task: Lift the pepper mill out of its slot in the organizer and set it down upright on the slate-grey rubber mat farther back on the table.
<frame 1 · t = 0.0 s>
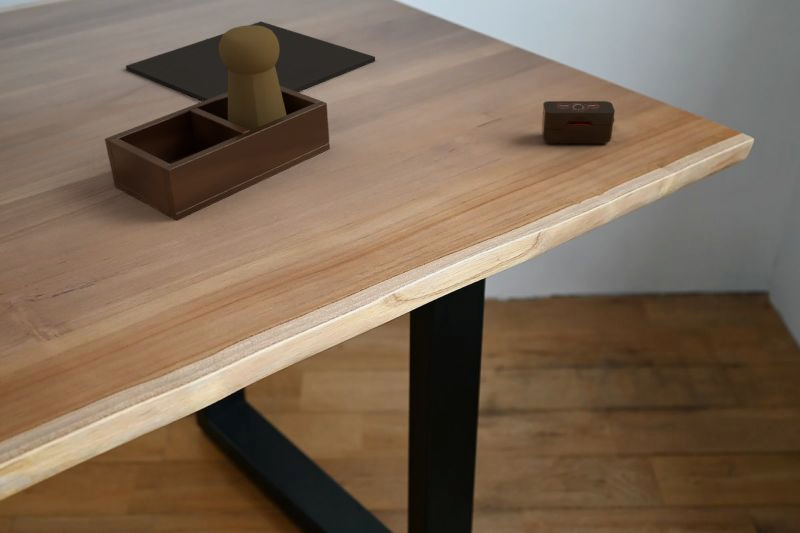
organizer: (226, 167, 82), on the table
mat: (251, 65, 103), on the table
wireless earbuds: (582, 137, 86), on the table
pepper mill: (260, 147, 84), resting on organizer
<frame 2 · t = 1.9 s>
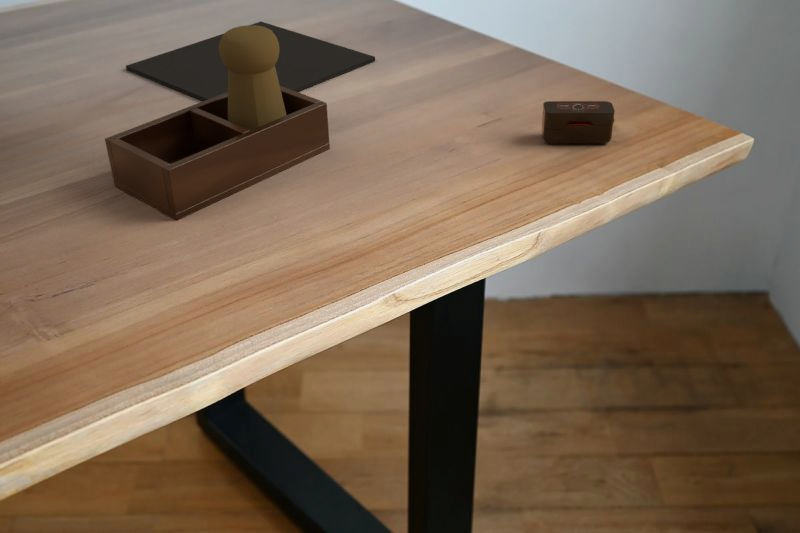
nothing on the table moved.
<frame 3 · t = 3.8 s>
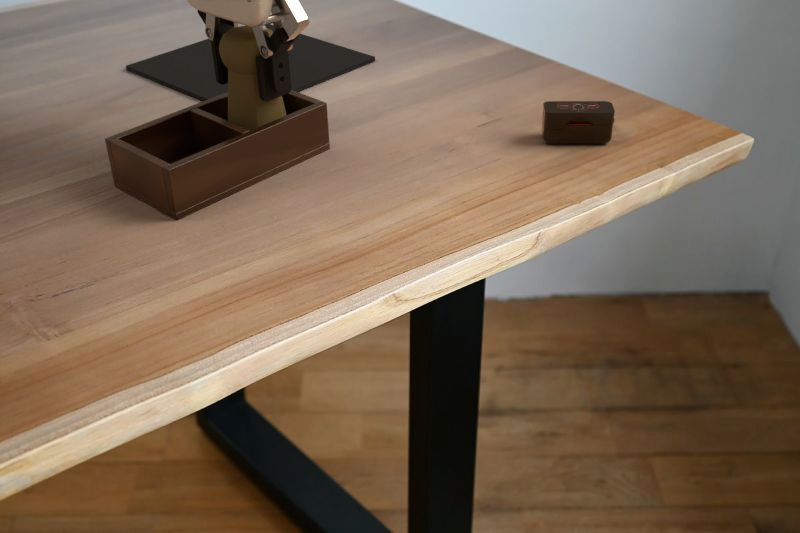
hand: (253, 86, 81), 6 cm above the table, tool pointing down, fingers closed on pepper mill, 5 cm apart
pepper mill: (260, 147, 84), resting on organizer, touching gripper
everything else where it was.
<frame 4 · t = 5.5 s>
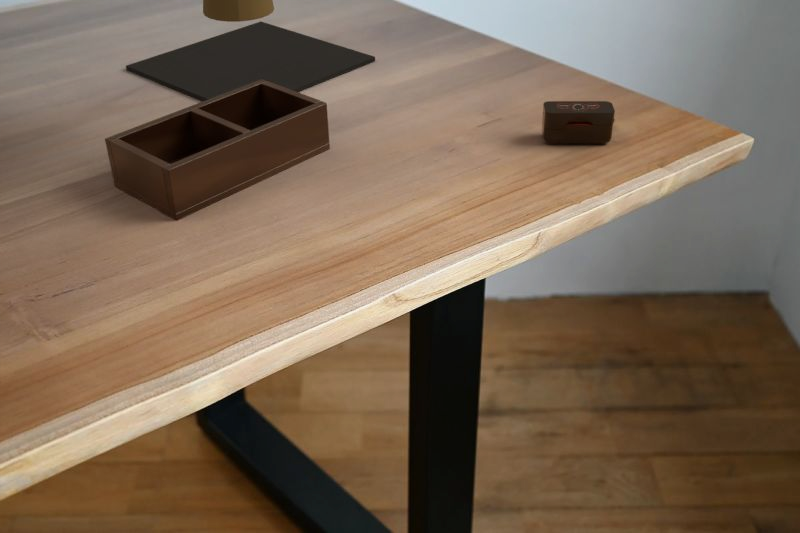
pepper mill: (239, 12, 78), point 13 cm above the table, touching gripper
everything else where it was.
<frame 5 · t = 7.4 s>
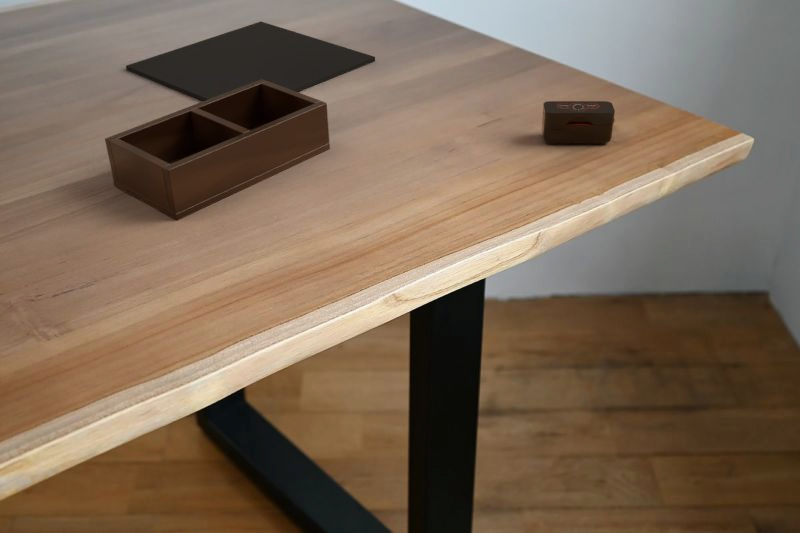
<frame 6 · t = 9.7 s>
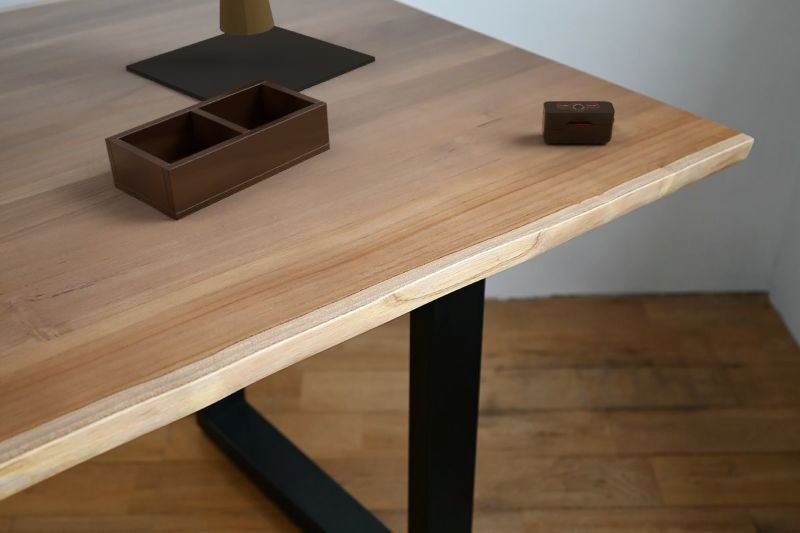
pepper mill: (247, 27, 101), point 4 cm above the table, touching gripper
everything else where it was.
when the fingers open (6 cm above the table, at t = 11.2 s): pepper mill stays where it is, resting on mat.
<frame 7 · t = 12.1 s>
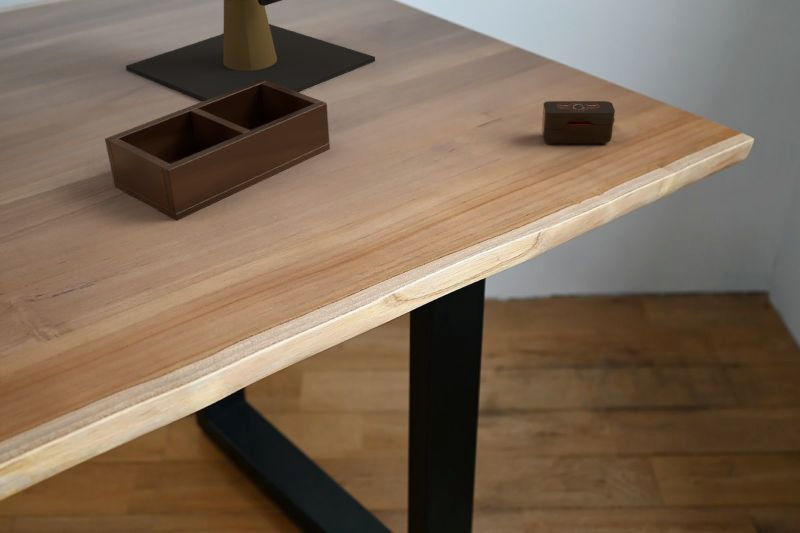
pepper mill: (250, 62, 103), resting on mat
everything else where it was.
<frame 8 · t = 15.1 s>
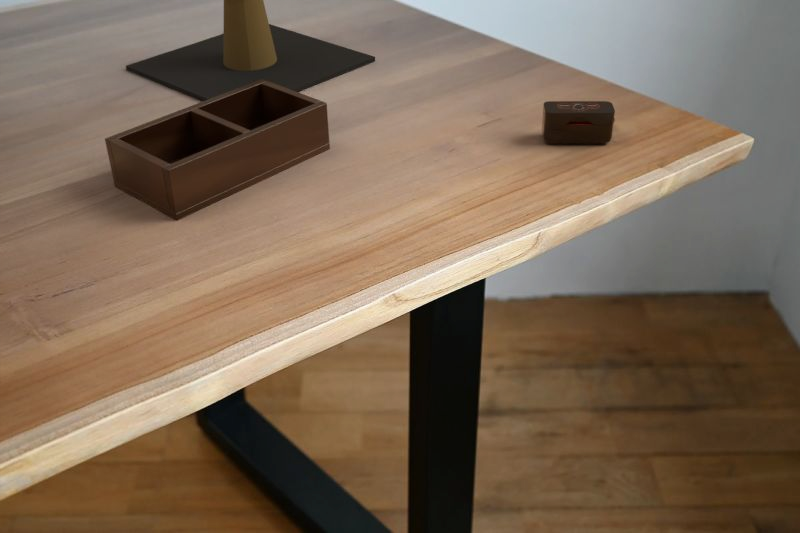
nothing on the table moved.
at the end: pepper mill inside the target area on the mat (0.1 cm from its centre), point 0.3 cm above the mat's base; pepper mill tilted 0°; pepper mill touching mat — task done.
